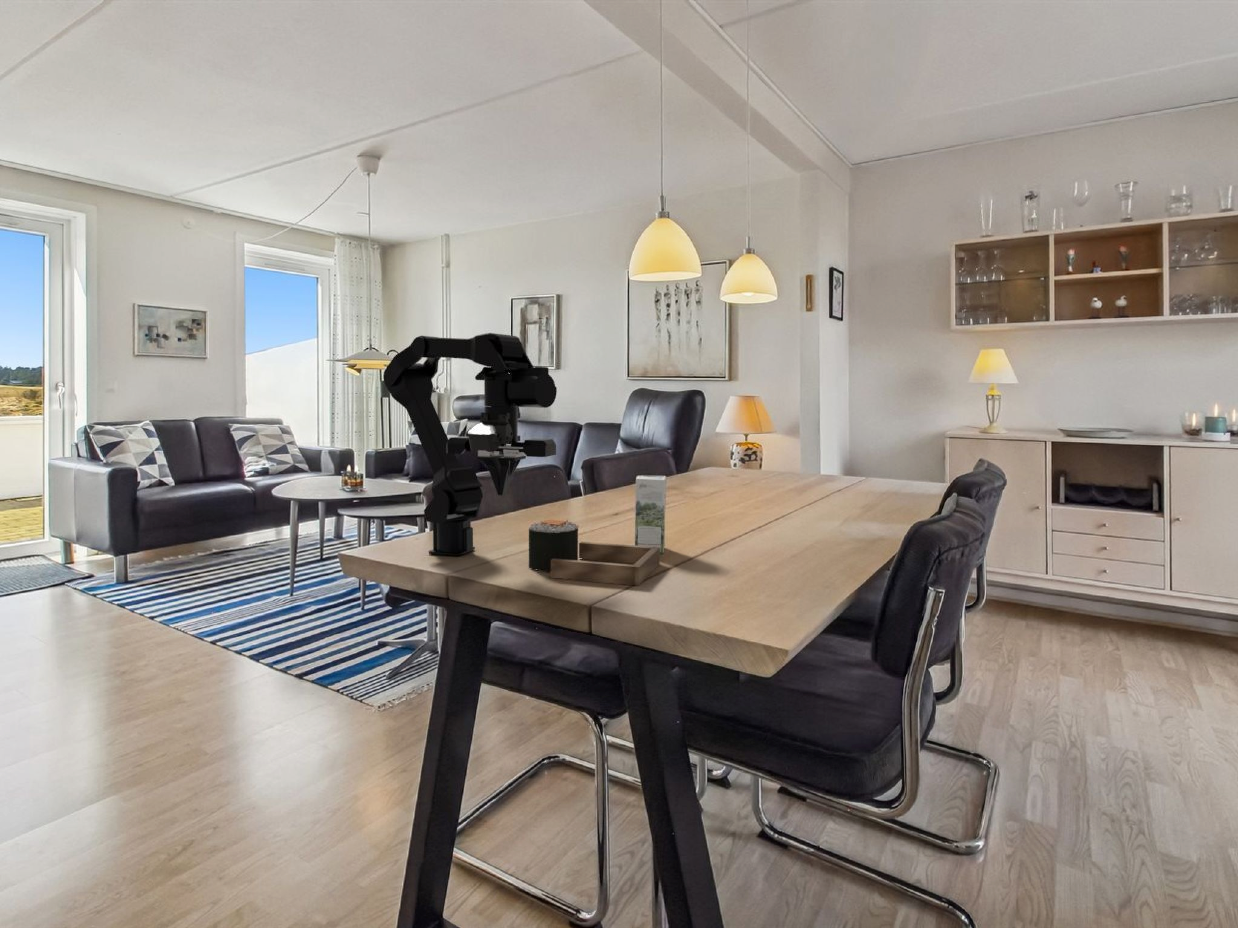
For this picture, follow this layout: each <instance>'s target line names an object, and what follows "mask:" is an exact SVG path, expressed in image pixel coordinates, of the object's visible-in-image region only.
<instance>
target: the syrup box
mask: <svg viewBox="0 0 1238 928" xmlns="http://www.w3.org/2000/svg"><path fill="white" fill-rule="evenodd" d="M666 496H667V476H666V475H643V474H642V475H637V476H636V478H635V501H634V502H635V505H634V506H635V510H634V515H635V517H634V518H635V519H634V521H635V522H634V546H648V547H660V554H664V553H665V546H666V542H665V541H666V539H665V538H666V533H665V532H666V526H665V525H666V502H667V499H666Z"/></svg>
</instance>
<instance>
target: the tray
mask: <svg viewBox="0 0 1238 928" xmlns="http://www.w3.org/2000/svg"><path fill="white" fill-rule="evenodd" d="M660 556H661V553H660V547H648V546H635V544H633V545H632V544H619V543H606V542H605V543H602V542H593V541H592V542H590V541H589V542H588V541H580V542H578V560H567V559H554V558H553V559H552V560H551V572H550V578H551V579H555V578H564V579H563V580H567V579H571V580H570V581H578V580H582V581H581V582H589V581H594V582H593V583H600V584H601V583H603V584H612V583H613V585H623V584H626V586H635V587H639V586H640V585H641V584H642V583H643V582H644V581H645V580H646V579H647V578H648V577H649V576H650V575H651V573H652V572H653V571H654V570H656V568H657V567H658V566H659V565H660V562H661V560H660V559H661V557H660ZM579 558H582V559H581V560H580V559H579ZM584 559H589V560H584ZM597 560H599V561H597ZM609 561H612V562H609Z"/></svg>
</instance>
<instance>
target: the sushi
mask: <svg viewBox="0 0 1238 928" xmlns="http://www.w3.org/2000/svg"><path fill="white" fill-rule="evenodd" d="M579 526H580V525H578V524H577V523H576V522H572V521H569V519H566V520H559V519H553V518H550V519H547V520H543V521H542V520H540V522H534V523H532V524H531V525H530V526H528V527H529V528H528V568H529V569H530V568H532V569H531V570H533V569H537V570H536V571H540V570H541V571H542V572H549V571H551V560H552V559H553V558H554V559H567V560H579Z"/></svg>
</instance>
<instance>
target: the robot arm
mask: <svg viewBox="0 0 1238 928" xmlns="http://www.w3.org/2000/svg"><path fill="white" fill-rule="evenodd" d="M423 358H426V359H425V361H424V362H423V363H420V362H419V361H421V360H422V359H423ZM441 358H448V359H461V360H462V359H463V360H469V361H471V362H473V363H475V364H478V365H481V366H483V367H482V370H480V371H479V372H478V373H477V374H476V375H475V377H474V379H475V381H483V383H484V384H483V385H484V387H483V388H484V391H483V392H484V403H483V404H484V412H481V413H480V421H479V423H478V424H475V426H473V427H472V428H470V429H469V430H468V432H467V436H451V437H448V435H447V433H446V431H445V429H444V426H443V424H442V421H441V419H440V417H439V415H438V412H437V410H436V408H435V406H434V403H433V402H432V397H433V390H434V383H433V381H432V380H433V379H434V378H435V376H436V375H437V373H438V371H439V370H438V369H439V360H441ZM549 372H550V371H549V367H548V366H534V365H533V363H532V362H531V360H530V358H529V356H528V355H527V353H526V351H525V349H524V348H523V344H522V342H521V339H520V338H519V337H518V336H516V335H512V334H511V335H510V334H503V333H494V332H493V333H492V332H487V333H481V334H478V335H475V336H473V337H470V338H459V337H458V338H457V337H456V338H453V337H439V336H429V335H419V336H416V337H415V338H414V339H413V341H412V342H411V343H410V345H408V346H407V347H406V348H405V349H403V350H401V351H400V352H399V353H397V354H395V355H394V356H393V358H392V359H391V361H390V362H389V364H388V365H387V366H386V368H385V369H384V372H383V382H384V385H385V388H386V389H387V390H388V392H389V394H390V396H391V397H392V399H394V400H395V401H396V402H397V403H398V404H400V405H401V406H402V407H403V408H404V409H406V412H407V413H408V416H409V418H410V421H411V423H412V426H413V428H414V430H415V432H416V434H417V438H418V440H419V442H420V444H421V447H422V449H423V451H424V453H425V456H426V459H427V460H428V463H429V465H430V468H431V469H432V473H433V479H432V485H431V492H432V496H433V498H432V499H431V501H429V503H428V505H427V506H425V509H424V510H423V513H424V518H425V521H426V522H427V523H428V522H429V523H432V548H433V549H431V550H428V554H430V555H442V556H451V557H452V556H453V557H460V556H463V555H466V554H468V553H470V552H472V551H474V550H475V549H476V547H475V546H474V528H473V527H472V525H471V524H472V523H471V521H472V520H471V519H476V518H477V517H478V514H479V511H480V510H479V509H480V507H481V503H482V499H483V496H484V495H483V491H482V487H483V484H482V483H481V482H480V481H479V478H478V475H477V473H476V470H475V469H474V467H467V468H466V467H463V465H461V464H460V462H459V460H458V458H457V456H456V455H463V454H464V453H465V452H475V453H476V452H477V456H475V457H476V460H480V461H481V462H482V463H483V464H484V465H485V466H486V469H487V470H488V471H489V473H490V474H489V475H490V476H491V481H492V483H493V485H494V489H495V491H496V493H497V495H498V496H501V497H502V496H505V494H506V492H507V490H508V487H509V485H510V483H511V480H512V479H513V478H512V477H513V476H514V473H515V472H516V469H517V467H518V465H519V464H520V462H521V460H524V459H526V458H529V457H532V458H533V457H534V458H535V457H536V458H547V457H551V456H556V455H557V444H556V442H555V440H554V439H553V438H552V439H551V438H531V439H530V438H529V439H528V438H527V439H525V440H524V441H521V435H520V434H519V435H518V427H519V425H518V423H519V422H518V419H521V412H519V411H518V410H519V409H518V407H519V408H538V409H540V408H544V409H545V408H546V409H547V408H550V407H551V406H552V405H553V404H554V403H555V401H556V397H557V392H558V391H557V386H556V384H555V380H554V378H553V377H552V376H551V375H550V374H549ZM500 452H502V453H503V454H500Z"/></svg>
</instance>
